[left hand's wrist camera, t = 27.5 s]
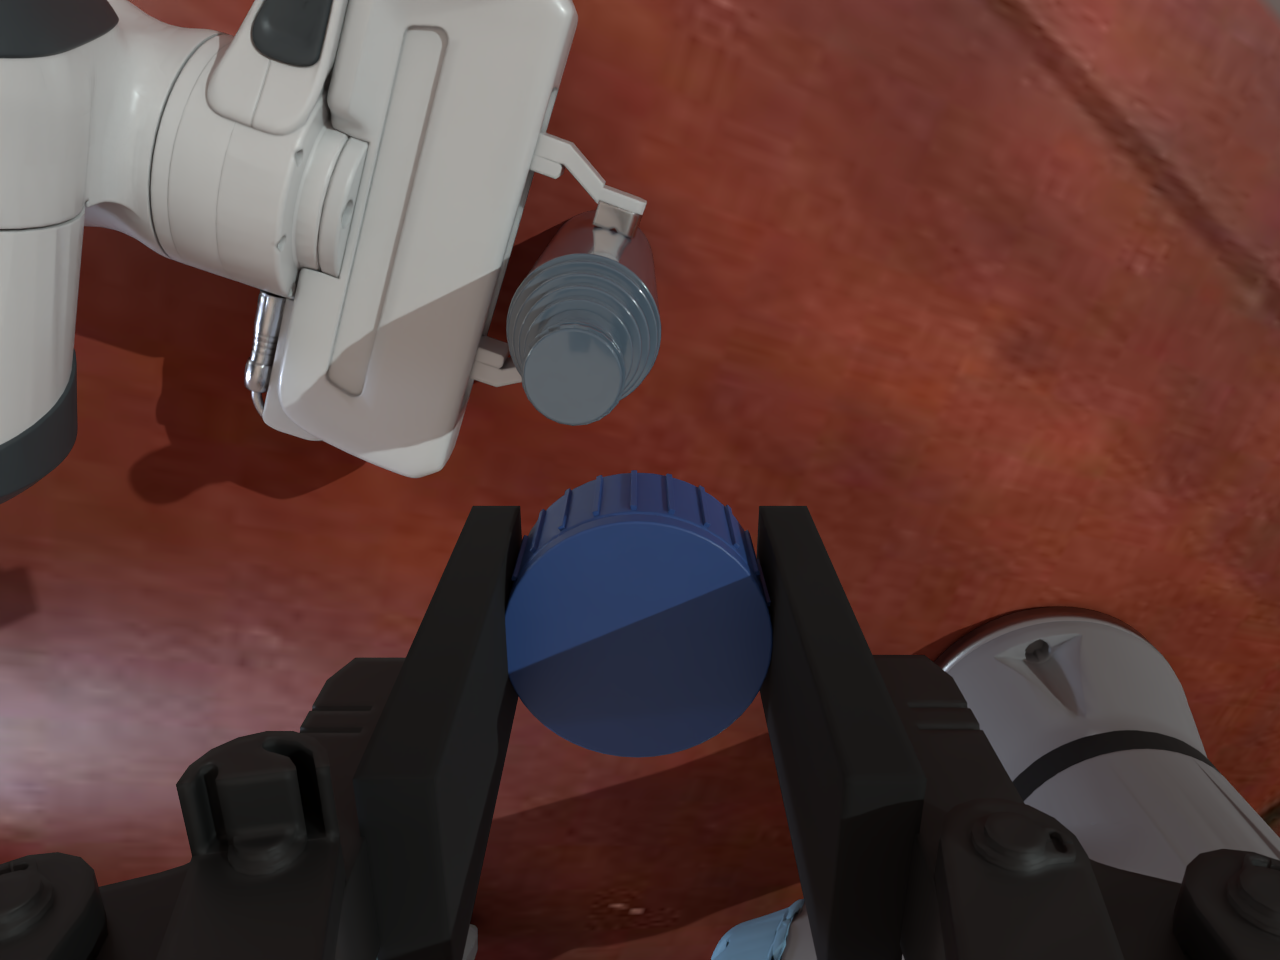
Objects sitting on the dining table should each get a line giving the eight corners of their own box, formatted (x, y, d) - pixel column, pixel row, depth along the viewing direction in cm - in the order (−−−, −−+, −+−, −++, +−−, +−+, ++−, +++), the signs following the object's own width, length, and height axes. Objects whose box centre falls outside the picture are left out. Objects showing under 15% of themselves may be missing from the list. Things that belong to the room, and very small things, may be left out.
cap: (589, 422, 14) (580, 466, 12) (809, 541, 15) (832, 600, 13) (472, 621, 15) (449, 689, 13) (680, 723, 16) (686, 799, 14)
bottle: (657, 313, 44) (672, 459, 25) (553, 322, 44) (492, 472, 26) (649, 205, 42) (659, 275, 24) (541, 214, 42) (465, 291, 24)
